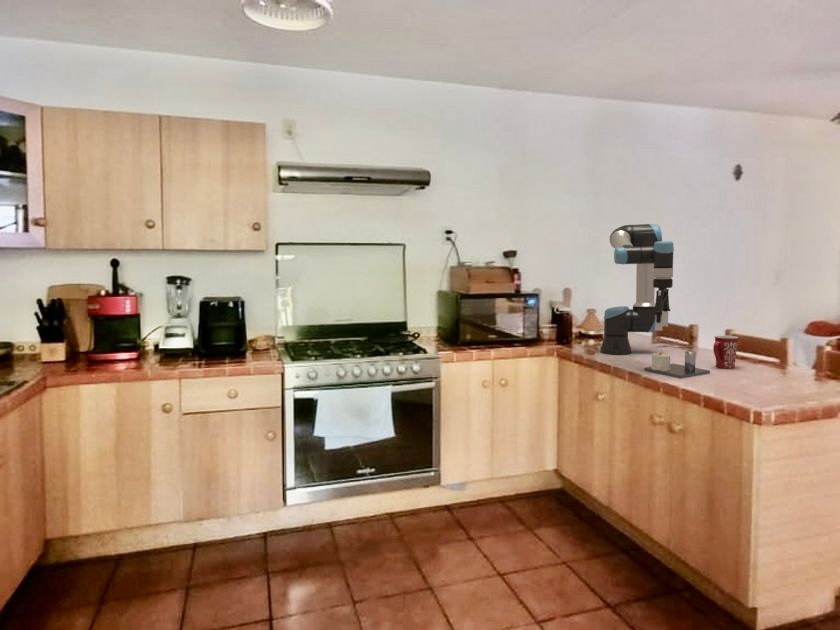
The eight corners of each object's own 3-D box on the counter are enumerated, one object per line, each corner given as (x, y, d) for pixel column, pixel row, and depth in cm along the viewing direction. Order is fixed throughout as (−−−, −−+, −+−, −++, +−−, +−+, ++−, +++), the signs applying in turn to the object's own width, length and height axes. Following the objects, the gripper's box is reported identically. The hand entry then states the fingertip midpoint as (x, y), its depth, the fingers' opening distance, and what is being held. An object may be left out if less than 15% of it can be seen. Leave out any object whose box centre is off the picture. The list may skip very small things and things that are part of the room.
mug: (721, 364, 250) (722, 334, 248) (741, 367, 242) (742, 336, 240) (703, 367, 244) (704, 337, 242) (723, 371, 236) (724, 339, 234)
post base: (644, 370, 240) (644, 350, 239) (673, 366, 248) (674, 346, 247) (680, 378, 224) (680, 356, 223) (710, 373, 232) (710, 352, 231)
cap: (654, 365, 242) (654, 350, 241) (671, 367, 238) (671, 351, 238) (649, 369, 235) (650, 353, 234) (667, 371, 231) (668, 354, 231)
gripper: (658, 276, 245) (657, 324, 248) (647, 279, 225) (646, 331, 227) (677, 276, 241) (675, 325, 244) (667, 279, 221) (666, 332, 223)
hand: (661, 328), depth 235 cm, fingers open, 13 cm apart
